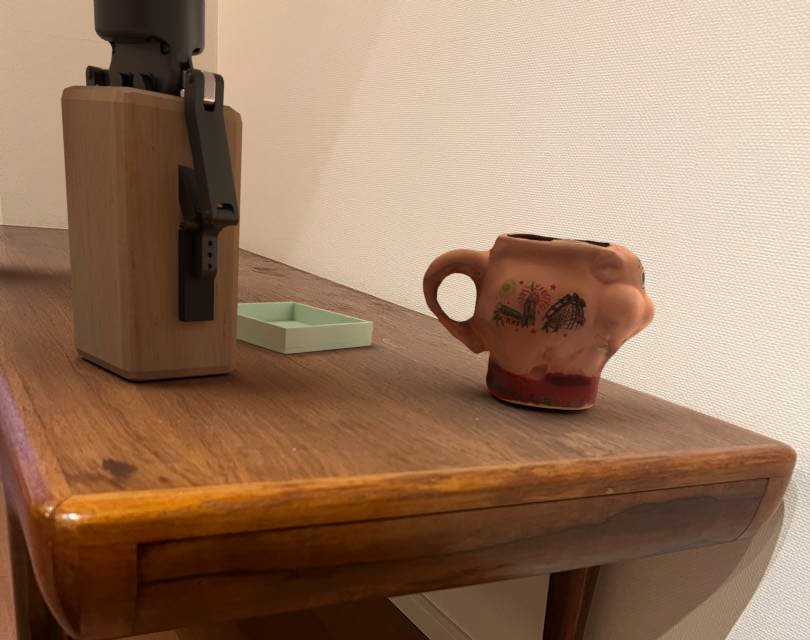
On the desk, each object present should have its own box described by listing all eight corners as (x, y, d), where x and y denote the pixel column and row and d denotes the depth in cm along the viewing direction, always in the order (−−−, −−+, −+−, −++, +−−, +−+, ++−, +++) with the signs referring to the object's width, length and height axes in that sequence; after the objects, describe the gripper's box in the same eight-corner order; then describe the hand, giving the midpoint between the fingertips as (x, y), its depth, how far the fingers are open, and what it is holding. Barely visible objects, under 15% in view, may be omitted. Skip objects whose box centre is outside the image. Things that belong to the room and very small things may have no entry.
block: (70, 356, 65) (54, 82, 57) (177, 350, 72) (176, 105, 64) (129, 385, 59) (120, 84, 51) (240, 375, 66) (248, 108, 58)
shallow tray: (204, 328, 83) (204, 304, 82) (292, 323, 92) (293, 301, 91) (284, 354, 76) (286, 328, 75) (371, 345, 85) (373, 322, 84)
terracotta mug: (418, 406, 63) (441, 224, 58) (404, 372, 74) (422, 216, 69) (651, 427, 66) (695, 254, 60) (604, 391, 77) (637, 242, 71)
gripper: (301, -11, 51) (284, 332, 60) (108, 1, 63) (118, 283, 73) (207, -45, 45) (204, 338, 55) (16, -25, 58) (39, 284, 67)
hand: (155, 307), depth 64 cm, fingers closed on block, 10 cm apart
